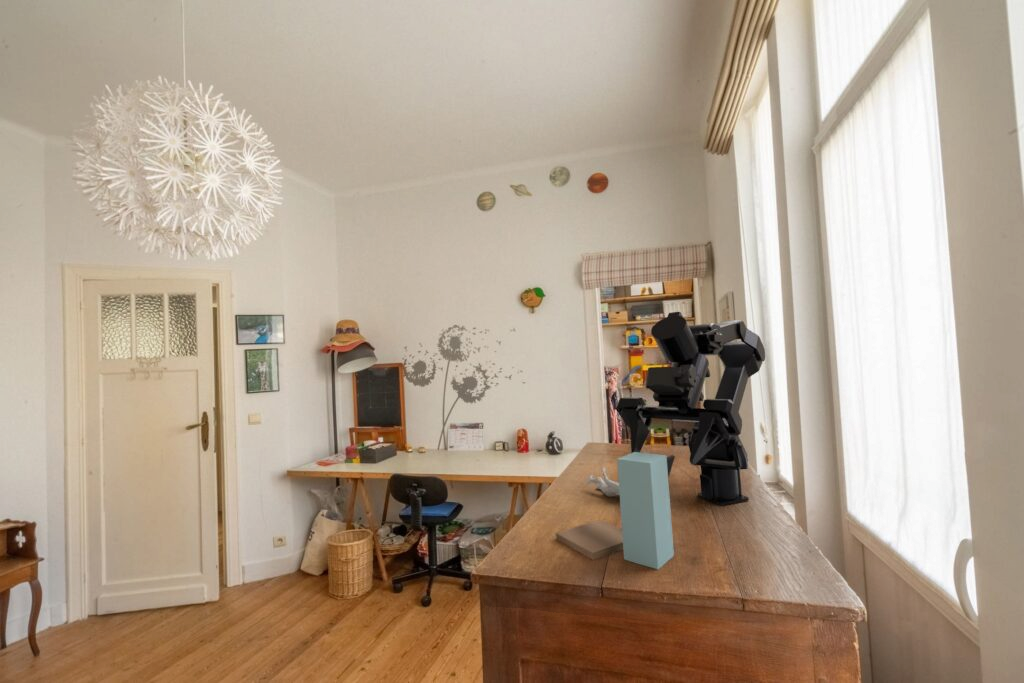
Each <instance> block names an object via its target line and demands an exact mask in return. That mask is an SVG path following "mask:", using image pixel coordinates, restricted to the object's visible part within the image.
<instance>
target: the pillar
mask: <svg viewBox="0 0 1024 683" xmlns="http://www.w3.org/2000/svg"><path fill="white" fill-rule="evenodd" d="M667 457H668V456H667V455H666V454H657V453H647V452H640V453H639V452H633V453H631V452H630V453H628V454H626V455H623V456H621V457H619V458H617V459H616V462H617V463H616V464H617V465H616V466H617V477H618V483H619V494H620V495H619V505H620V507H619V508H620V515H621V516H620V517H621V519H620V521H621V529H622V536H623V549H622V550H623V559H624V560H625V561H628V562H632V563H635V564H638V565H642V566H645V567H648V568H651V569H655V570H659V569H661V568H663V566H664V565H665V564H666V563H667V562H668V561H670V560H671V559H672V558H673V557H674V556H675V551H674V540H673V539H674V538H673V537H674V536H673V526H672V525H673V524H672V512H671V498H670V488H669V487H670V485H669V478H668V469H667Z"/></svg>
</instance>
